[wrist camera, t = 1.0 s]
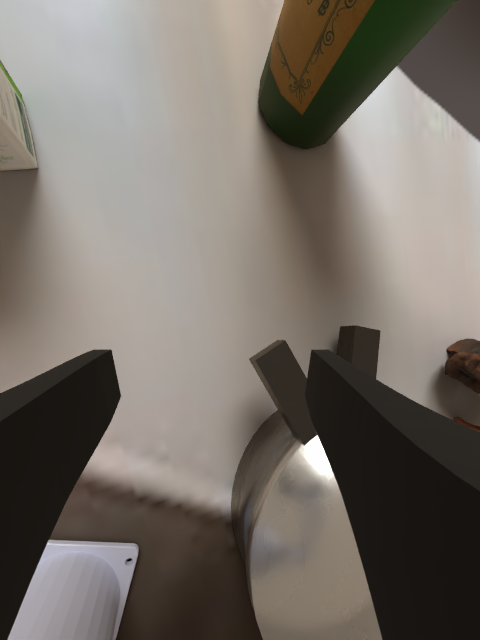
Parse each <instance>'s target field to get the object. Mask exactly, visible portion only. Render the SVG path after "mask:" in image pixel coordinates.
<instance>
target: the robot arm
mask: <svg viewBox="0 0 480 640" xmlns="http://www.w3.org/2000/svg"><path fill="white" fill-rule="evenodd" d="M120 397H121V394H120V389H119V384H118V379H117V375H116V370H115V365H114V360H113V355H112V350H92V351H89V352H87V353H84V354H82V355H80V356H78V357H75V358H73V359H71V360H69V361H67V362H65V363H63V364H61V365H59V366H57V367H55V368H53V369H51V370H49V371H47V372H45V373H43V374H41V375H39V376H37V377H35V378H33V379H31V380H29V381H26V382H24V383H22V384H20V385H18V386H16V387H13V388H11V389H9V390H7V391H5V392H3V393H0V640H116V637H117V633H118V629H119V625H120V621H121V618H122V614H123V610H124V606H125V602H126V599H127V595H128V591H129V587H130V584H131V580H132V576H133V572H134V568H135V565H136V561H137V557H138V552H139V547H138V545H137V544H134V543H112V542H88V541H64V540H49V538H50V536H51V534H52V531H53V529H54V527H55V525H56V523H57V521H58V518H59V516H60V514H61V512H62V510H63V507H64V505H65V503H66V501H67V499H68V497H69V495H70V493H71V492H72V490H73V488H74V486H75V484H76V482H77V481H78V479H79V477H80V475H81V474H82V472H83V470H84V468H85V467H86V465H87V463H88V461H89V460H90V458H91V456H92V454H93V453H94V451H95V449H96V447H97V446H98V444H99V442H100V440H101V438H102V437H103V435H104V433H105V431H106V430H107V428H108V426H109V424H110V422H111V420H112V418H113V415H114V413H115V410H116V408H117V405H118V403H119V400H120ZM305 397H306V401H307V405H308V409H309V413H310V416H311V420H312V423H313V425H314V428H315V430H316V433H317V435H318V438H319V440H320V443H321V445H322V447H323V450H324V452H325V455H326V457H327V460H328V462H329V464H330V467H331V469H332V472H333V474H334V477H335V479H336V481H337V484H338V487H339V490H340V492H341V495H342V498H343V501H344V505H345V508H346V511H347V514H348V518H349V521H350V524H351V527H352V531H353V534H354V537H355V541H356V544H357V548H358V551H359V555H360V558H361V562H362V565H363V569H364V572H365V576H366V580H367V583H368V587H369V591H370V595H371V598H372V602H373V606H374V610H375V613H376V617H377V621H378V625H379V628H380V632H381V636H382V640H480V432H478V431H476V430H473V429H471V428H468V427H466V426H464V425H462V424H459V423H457V422H455V421H453V420H451V419H449V418H446V417H444V416H442V415H440V414H438V413H436V412H434V411H432V410H430V409H428V408H426V407H424V406H422V405H420V404H418V403H416V402H414V401H413V400H411V399H409V398H407V397H405V396H403V395H402V394H400V393H398V392H396V391H395V390H393V389H391V388H389V387H388V386H386V385H384V384H383V383H381V382H379V381H378V380H376V379H374V378H373V377H371V376H370V375H368V374H367V373H365V372H363V371H362V370H360V369H359V368H357V367H356V366H354V365H352V364H351V363H349V362H348V361H346V360H345V359H343V358H342V357H340V356H338V355H337V354H335V353H333V352H331V351H329V350H311V357H310V364H309V370H308V377H307V384H306V391H305ZM128 558H131V559H132V560H131V561H129V562H128V561H126V560H127V559H128Z"/></svg>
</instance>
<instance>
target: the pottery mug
mask: <svg viewBox="0 0 480 640" xmlns="http://www.w3.org/2000/svg"><path fill="white" fill-rule="evenodd" d="M447 351H448V352H450V353H455V355H453V356H452V357H451V358H449V359H448V360H447V361H446V364H445V374H446V375H450V376H451V377H452V378H454V379H457V380H459V381H461V382H463V383H464V384H465V385H466V386H467V387H469V388H471V389H473V390H474V391H475V392H477V393H479V394H480V341H477V340H475V339H464V340H460V341H458V342H456V343H455V344H453V345H451V346H450V347H449V348H447ZM454 420H455V421H456V422H458V423H460V424H462V425H464V426H466V427H468V428H471V429H473V430H476V431H478V432H480V426H476V425H472V424H470V423H467V422H465V421H464V420H462V419H460V418H458V417H456V418H454Z"/></svg>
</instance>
